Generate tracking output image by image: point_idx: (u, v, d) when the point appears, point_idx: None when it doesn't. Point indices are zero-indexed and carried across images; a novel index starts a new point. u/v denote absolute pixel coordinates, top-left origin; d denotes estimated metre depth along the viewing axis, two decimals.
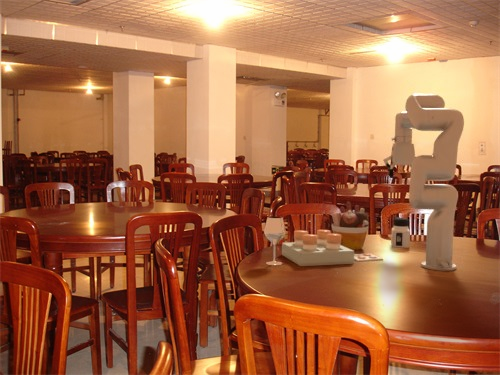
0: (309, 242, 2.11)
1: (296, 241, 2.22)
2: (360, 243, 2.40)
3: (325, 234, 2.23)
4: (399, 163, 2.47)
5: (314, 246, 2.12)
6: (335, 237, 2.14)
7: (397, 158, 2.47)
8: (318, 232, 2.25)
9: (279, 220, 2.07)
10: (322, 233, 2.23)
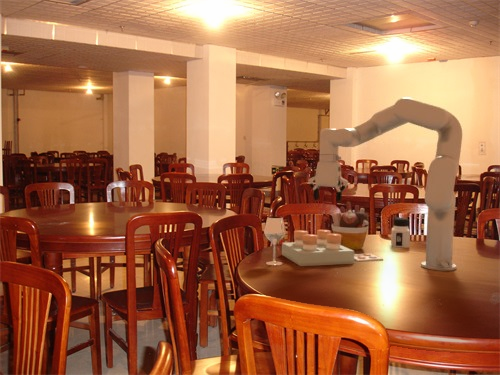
0: (309, 242, 2.11)
1: (296, 241, 2.22)
2: (360, 243, 2.40)
3: (325, 234, 2.23)
4: None
5: (314, 246, 2.12)
6: (335, 237, 2.14)
7: None
8: (318, 232, 2.25)
9: (279, 220, 2.07)
10: (322, 233, 2.23)
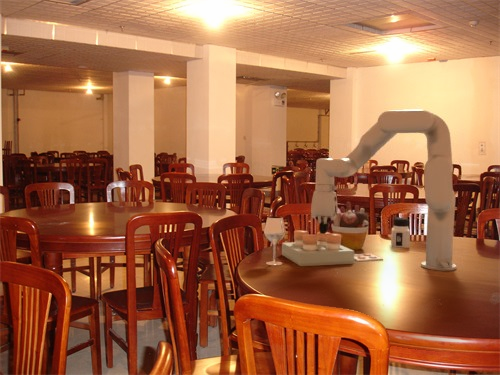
0: (309, 242, 2.11)
1: (296, 241, 2.22)
2: (360, 243, 2.40)
3: (325, 236, 2.23)
4: None
5: (314, 246, 2.12)
6: (335, 237, 2.14)
7: None
8: (318, 234, 2.25)
9: (279, 220, 2.07)
10: (322, 235, 2.24)
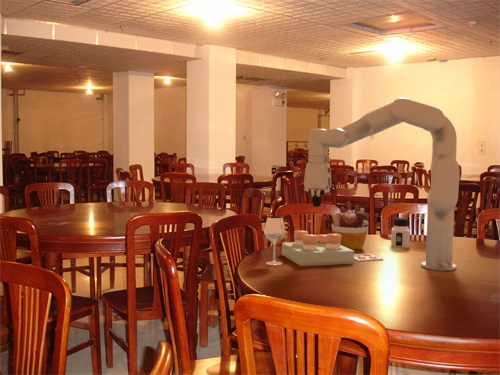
0: (309, 242, 2.11)
1: (296, 241, 2.22)
2: (360, 243, 2.40)
3: (325, 239, 2.23)
4: None
5: (314, 246, 2.12)
6: (335, 237, 2.14)
7: None
8: (318, 237, 2.25)
9: (279, 220, 2.07)
10: (322, 238, 2.24)
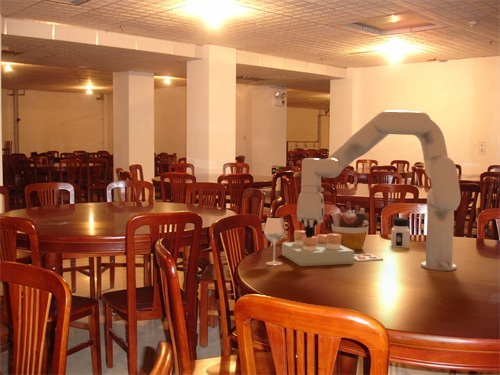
0: (309, 244, 2.11)
1: (296, 241, 2.22)
2: (360, 243, 2.40)
3: (325, 239, 2.23)
4: None
5: (314, 248, 2.12)
6: (335, 237, 2.14)
7: None
8: (318, 237, 2.25)
9: (279, 220, 2.07)
10: (322, 238, 2.24)
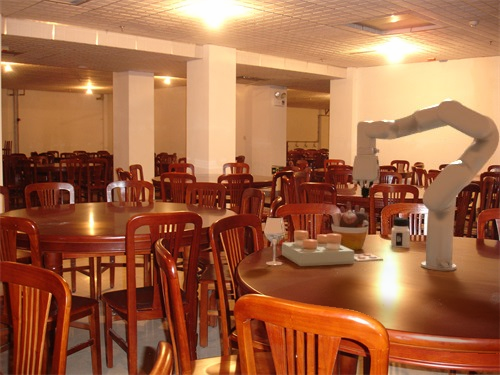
0: (309, 247, 2.11)
1: (296, 241, 2.22)
2: (360, 243, 2.40)
3: (325, 239, 2.23)
4: None
5: None
6: (335, 237, 2.14)
7: None
8: (318, 237, 2.25)
9: (279, 220, 2.07)
10: (322, 238, 2.24)
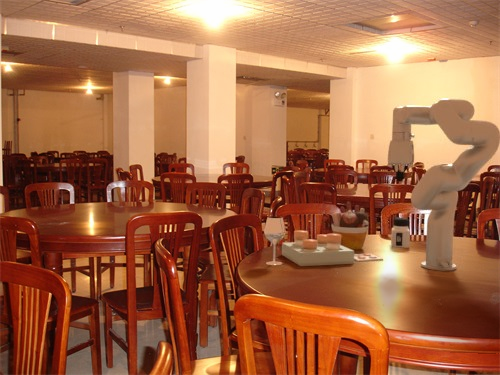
0: (309, 247, 2.11)
1: (296, 241, 2.22)
2: (360, 243, 2.40)
3: (325, 239, 2.23)
4: None
5: None
6: (335, 237, 2.14)
7: None
8: (318, 237, 2.25)
9: (279, 220, 2.07)
10: (322, 238, 2.24)
